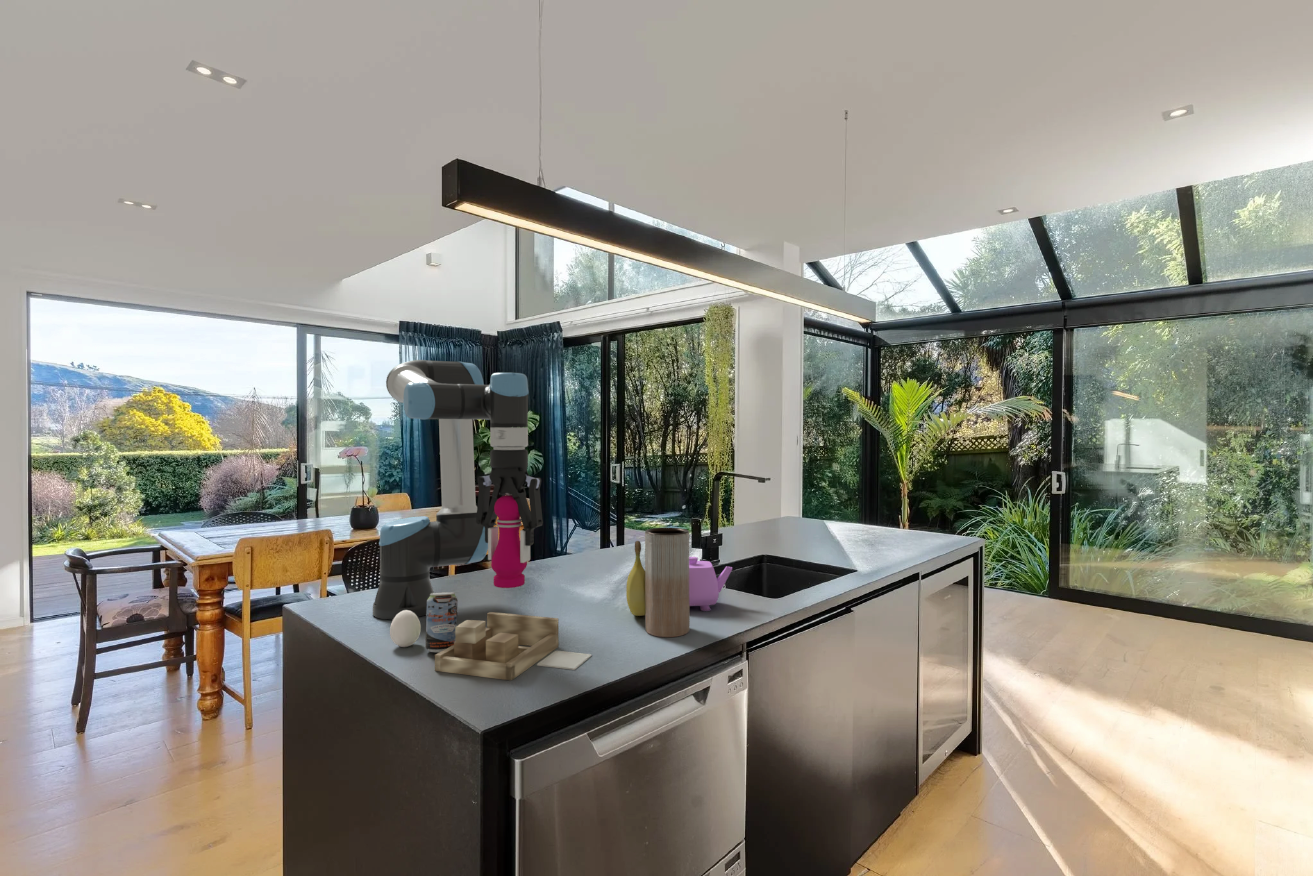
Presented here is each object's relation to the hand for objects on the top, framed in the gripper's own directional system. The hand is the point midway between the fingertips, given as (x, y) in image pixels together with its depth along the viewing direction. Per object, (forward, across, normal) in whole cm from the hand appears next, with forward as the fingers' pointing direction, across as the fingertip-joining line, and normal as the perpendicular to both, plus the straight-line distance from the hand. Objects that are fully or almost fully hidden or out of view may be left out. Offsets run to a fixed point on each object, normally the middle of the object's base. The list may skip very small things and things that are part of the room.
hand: (509, 559), depth 131 cm
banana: (+19, +18, +32) cm, 41 cm away
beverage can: (+19, -13, -4) cm, 24 cm away
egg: (+19, -22, -4) cm, 30 cm away
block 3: (+19, +4, -9) cm, 21 cm away
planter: (+19, +28, +22) cm, 40 cm away
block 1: (+14, -3, -9) cm, 17 cm away
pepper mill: (+5, 0, 0) cm, 5 cm away
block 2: (+19, -3, -9) cm, 21 cm away
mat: (+19, +14, -2) cm, 23 cm away
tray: (+19, +1, -5) cm, 19 cm away
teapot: (+19, +28, +44) cm, 55 cm away
